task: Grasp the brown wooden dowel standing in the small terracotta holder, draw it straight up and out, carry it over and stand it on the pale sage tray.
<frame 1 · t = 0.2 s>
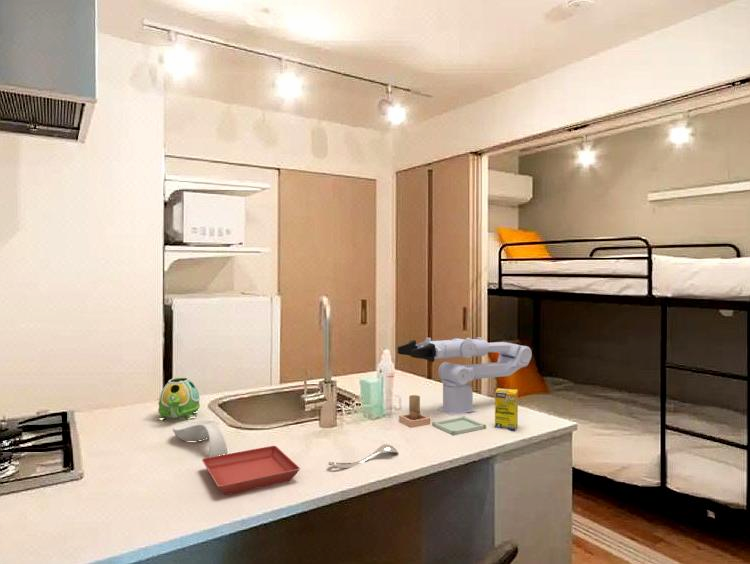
hand: (404, 352, 157), 21 cm above the countertop, tool horizontal, fingers open, 7 cm apart
tray: (458, 428, 150), on the countertop
plant saucer: (249, 478, 116), on the countertop
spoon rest: (203, 445, 137), on the countertop
dowel: (414, 422, 154), resting on holder
silver spork: (364, 463, 124), on the countertop
supplement box: (506, 427, 151), on the countertop
holder: (414, 424, 154), on the countertop
turtle holder: (179, 418, 161), on the countertop
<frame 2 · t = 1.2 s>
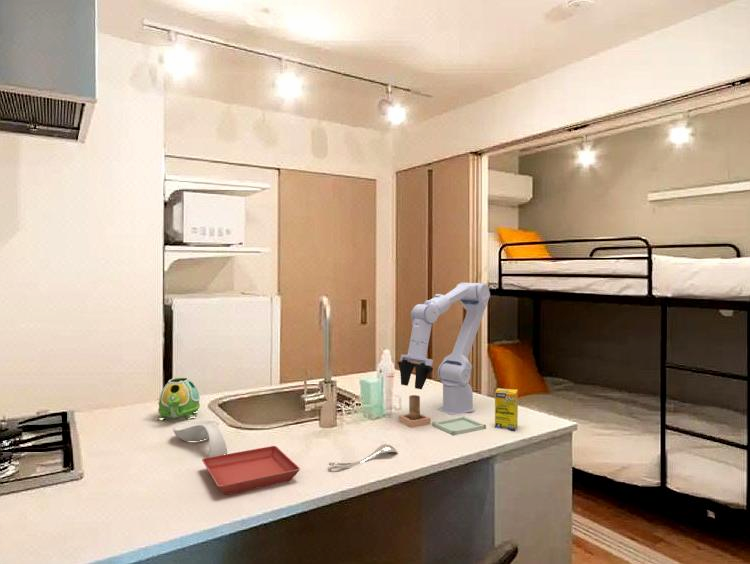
hand: (411, 387, 154), 11 cm above the countertop, tool tilted 15°, fingers open, 7 cm apart
nothing on the countertop moved.
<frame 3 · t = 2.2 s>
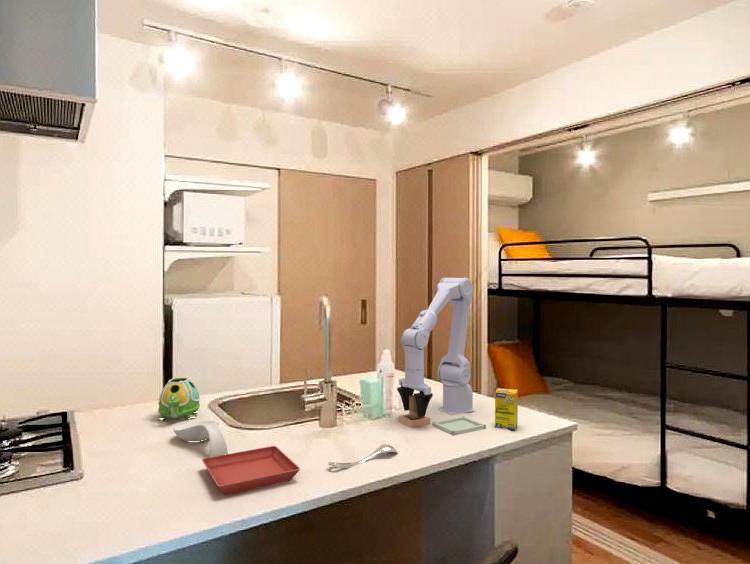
hand: (414, 413, 154), 3 cm above the countertop, tool pointing down, fingers open, 7 cm apart
nothing on the countertop moved.
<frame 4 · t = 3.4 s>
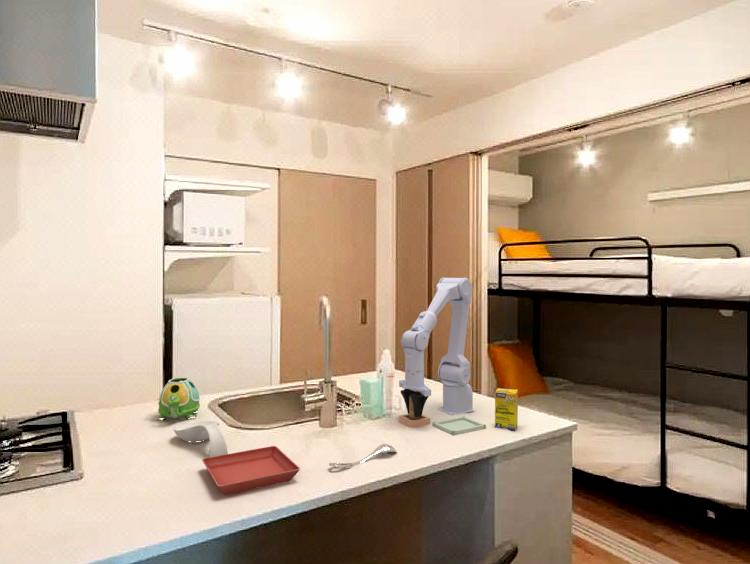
hand: (414, 414, 154), 3 cm above the countertop, tool pointing down, fingers closed on dowel, 3 cm apart
dowel: (414, 422, 154), resting on holder, touching gripper
everything else where it was.
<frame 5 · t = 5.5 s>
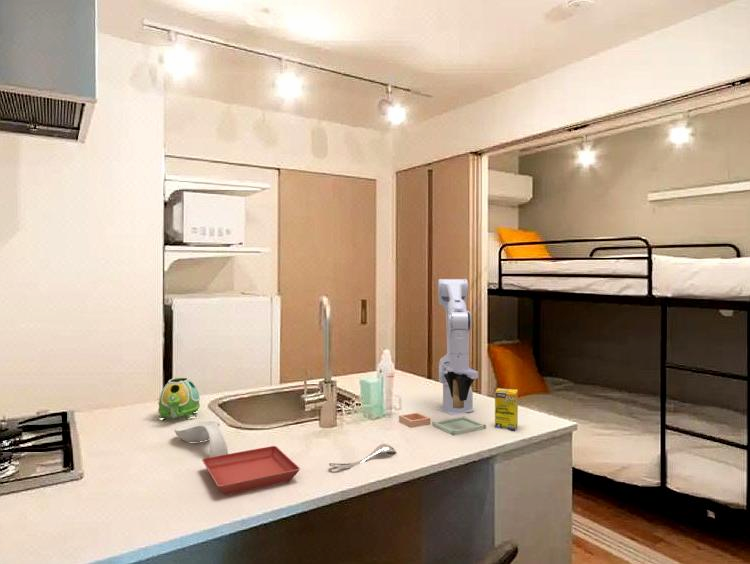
hand: (459, 398, 149), 9 cm above the countertop, tool pointing down, fingers closed on dowel, 3 cm apart
dowel: (458, 407, 149), point 6 cm above the countertop, touching gripper
everything else where it was.
when the fingers open (4 cm above the countertop, at t = 7.0 s): dowel stays where it is, resting on tray.
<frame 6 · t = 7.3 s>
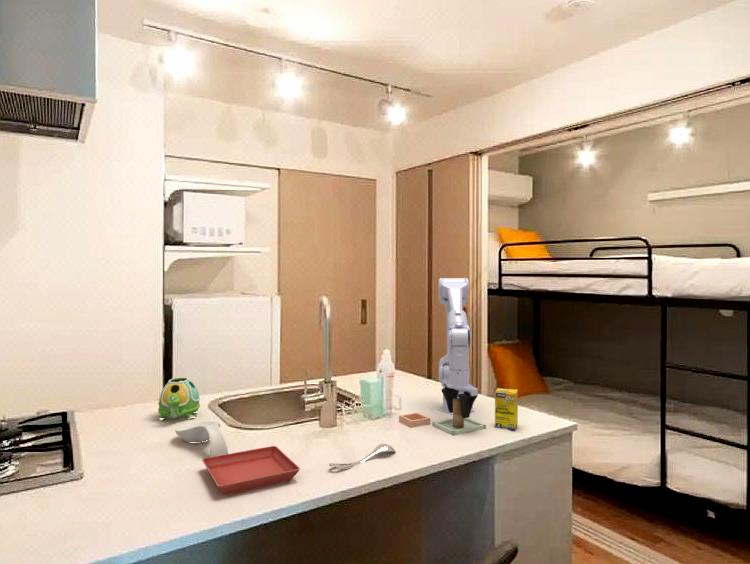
hand: (459, 414, 149), 4 cm above the countertop, tool pointing down, fingers open, 6 cm apart
dowel: (458, 426, 149), point 1 cm above the countertop, touching tray
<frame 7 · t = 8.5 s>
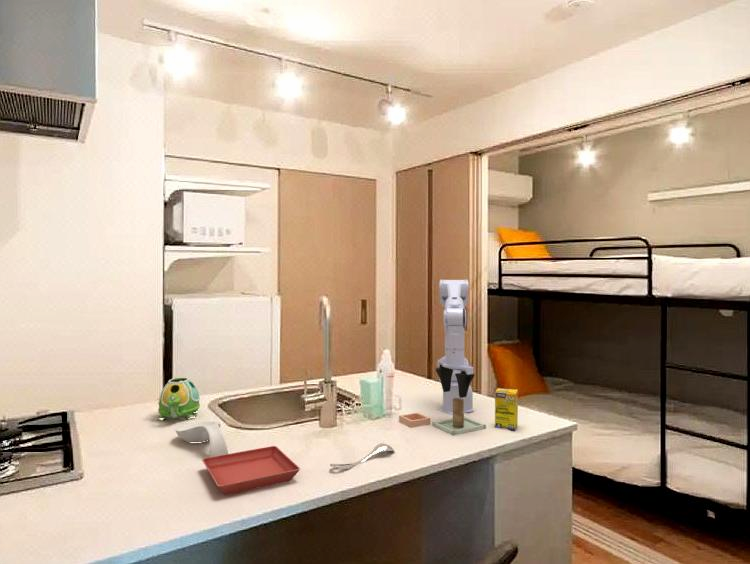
hand: (454, 394, 150), 10 cm above the countertop, tool pointing down, fingers open, 7 cm apart
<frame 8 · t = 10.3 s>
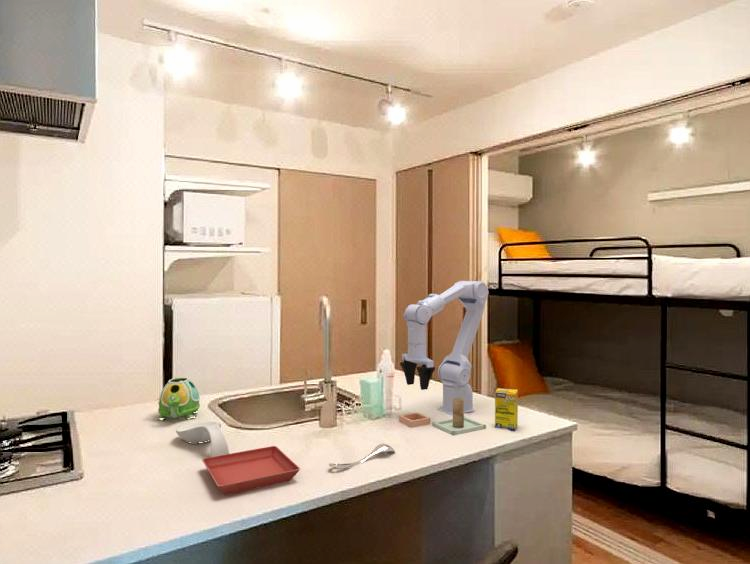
hand: (417, 386, 158), 10 cm above the countertop, tool pointing down, fingers open, 7 cm apart
at the end: dowel inside the target area on the tray (0.2 cm from its centre), point 0.6 cm above the tray's base; dowel tilted 1°; the gripper is holding nothing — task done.
